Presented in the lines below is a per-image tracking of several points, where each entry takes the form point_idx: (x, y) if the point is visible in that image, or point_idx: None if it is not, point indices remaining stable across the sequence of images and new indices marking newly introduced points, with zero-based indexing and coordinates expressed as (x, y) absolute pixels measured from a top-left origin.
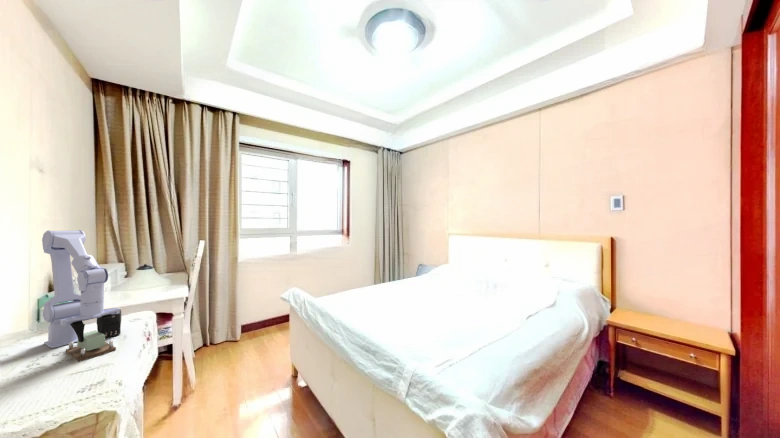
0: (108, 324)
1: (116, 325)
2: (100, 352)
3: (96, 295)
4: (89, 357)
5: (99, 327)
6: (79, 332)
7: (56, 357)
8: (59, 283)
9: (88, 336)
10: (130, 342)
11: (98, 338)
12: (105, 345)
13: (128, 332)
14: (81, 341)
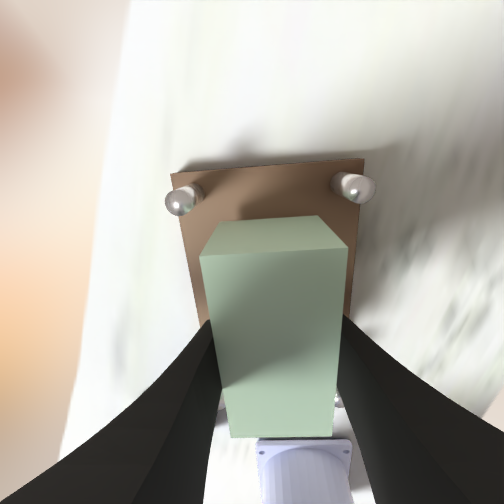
0: None
1: None
2: (254, 167)
3: None
4: (309, 162)
5: (210, 433)
6: (424, 387)
7: (381, 332)
8: None
9: (305, 339)
10: (99, 242)
11: (254, 245)
12: None
13: (104, 398)
14: (343, 317)
